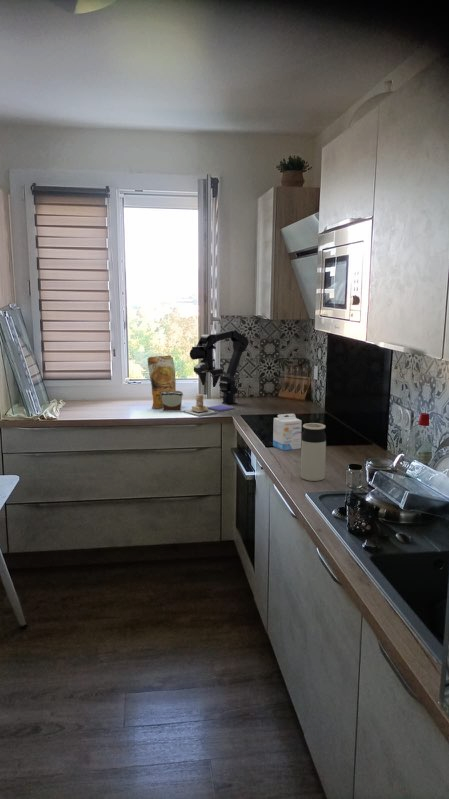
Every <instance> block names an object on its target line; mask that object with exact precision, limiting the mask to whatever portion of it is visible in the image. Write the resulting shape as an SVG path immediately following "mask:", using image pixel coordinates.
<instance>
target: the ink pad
mask: <svg viewBox="0 0 449 799" xmlns="http://www.w3.org/2000/svg"><path fill="white" fill-rule="evenodd" d="M208 410H212V411H215V412H218V413H222V412H227V411H233V410H236V408H235V407H234V406H233V407H232V406H230V405H226V404H225V405H224V404H218V405H212V406H208Z"/></svg>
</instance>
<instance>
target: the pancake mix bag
mask: <svg viewBox="0 0 449 799" xmlns="http://www.w3.org/2000/svg"><path fill="white" fill-rule="evenodd" d="M173 357H174V356H172V355H170V354H169V355H159V356H150V357H148V358H147V367H148V368H147V369H148V372H149V380H150V384H151V394H152V395H151V396H152V406H151V407H152V409H163V404H162V396H160V395H161V392H163V391H177V390H176V387H177V386H176V384H177V383H176V382H177V381H176V379H177V378H176V369H175V362H174V358H173Z"/></svg>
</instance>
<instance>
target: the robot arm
mask: <svg viewBox="0 0 449 799" xmlns="http://www.w3.org/2000/svg"><path fill="white" fill-rule="evenodd" d="M199 338H200V339H199V340H198V342H197V344H196V346H191V350H190V351H189V357H190V359H191V360H193V361H194V360H200V359H201V360H200V363H198V364H195V365H194V366H193V373H195V374H196V375H198V378H199V379H200V382H201V385H202V386H205V384H206V379H207V373H209V374H210V377H211V378H212V380H211V381H212V387H213V388H215V387H217V386H216V385H217V384H218V382H219V384H218V385H219V386H218V387H219V389H220V390H221V393H223V395H222V401H221V404H223V405H224V404H225V405H227V406H230V405H237V404H238V402H237V401H236V395H237V394H238V392H239V389H238V387H237V386H236V379H235V376H236V373H237V370H238V367H239V363H240V360H241V357H242V355H243V352H245V351H246V350H247V349H248V348H247V347H248V345H249V343H250V341H249V339H248V337H247V336H244V335H243V334H241V333H239V331H238V330H236V329H228V330H224V331H221V332H217V333H214V334H213V333H204V334H201V335H200V337H199ZM227 339H230V341H231V342H232V348H233V352H232V354H231V358H230V361H229V363H228V366H227V370H226V373H225V374H224V369H222V368H216V366H214V362H215V361H216V360H215V358H214V350H215V349H217V347H216V346H215V345H216V344H217V342H219V341H223V340H227ZM223 374H224V375H223ZM219 379H220V380H219Z"/></svg>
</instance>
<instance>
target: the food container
mask: <svg viewBox="0 0 449 799" xmlns="http://www.w3.org/2000/svg"><path fill="white" fill-rule="evenodd" d="M160 396H162V404H163V408H162V409H163V410H162V411H164V412H165V411H166V412H169V411H170V412H182V401H183V396H184V393H183V391H181V390H176V391H163V392H161V395H160Z"/></svg>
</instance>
